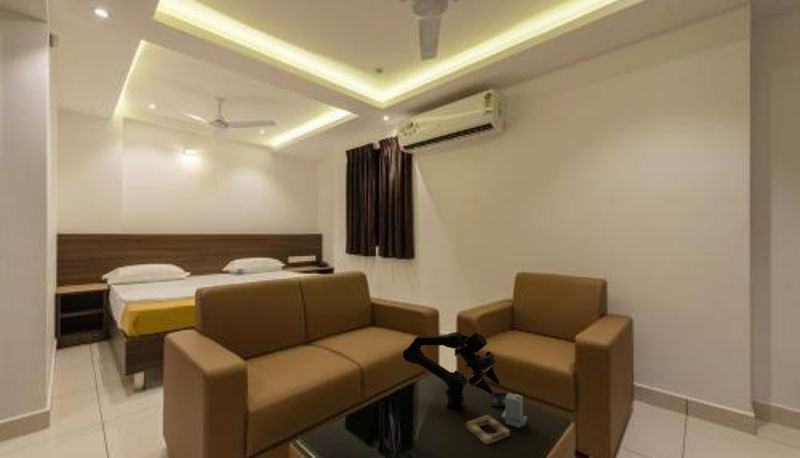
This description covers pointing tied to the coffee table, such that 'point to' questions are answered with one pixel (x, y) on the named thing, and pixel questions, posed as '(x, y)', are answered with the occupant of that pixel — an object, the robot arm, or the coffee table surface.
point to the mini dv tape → (498, 398)
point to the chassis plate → (485, 437)
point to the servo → (514, 410)
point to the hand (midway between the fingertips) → (495, 388)
